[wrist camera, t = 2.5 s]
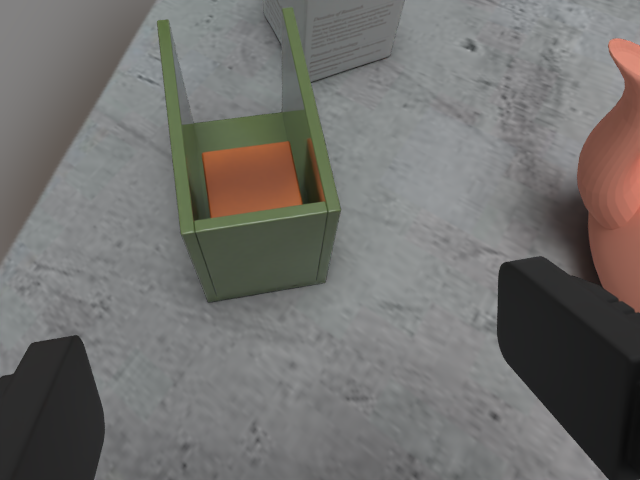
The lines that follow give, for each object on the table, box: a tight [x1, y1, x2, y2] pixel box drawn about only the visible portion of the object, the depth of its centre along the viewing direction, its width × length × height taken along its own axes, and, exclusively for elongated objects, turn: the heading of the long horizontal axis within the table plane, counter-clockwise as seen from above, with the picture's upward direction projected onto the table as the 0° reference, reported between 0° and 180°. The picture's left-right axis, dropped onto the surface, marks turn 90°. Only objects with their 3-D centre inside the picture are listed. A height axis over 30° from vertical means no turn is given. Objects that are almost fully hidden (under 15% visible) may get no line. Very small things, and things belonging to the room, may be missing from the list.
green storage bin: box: [157, 7, 341, 302], centre depth 26 cm, size 10×6×8 cm, turn 11°
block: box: [202, 141, 303, 218], centre depth 26 cm, size 4×4×4 cm
